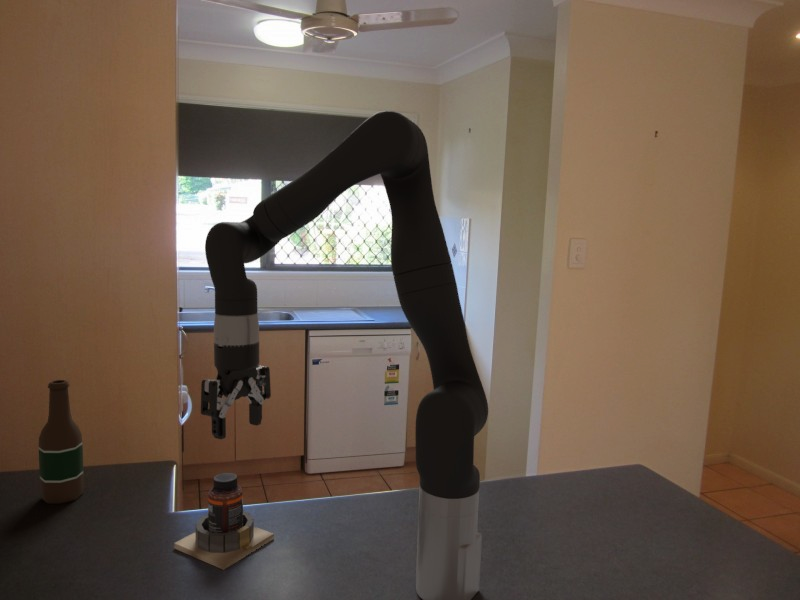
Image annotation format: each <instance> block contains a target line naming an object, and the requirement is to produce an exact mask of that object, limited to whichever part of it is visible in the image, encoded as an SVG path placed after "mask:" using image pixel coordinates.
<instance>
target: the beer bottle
mask: <svg viewBox="0 0 800 600" xmlns="http://www.w3.org/2000/svg"><path fill="white" fill-rule="evenodd" d="M69 387H70V383H69V381H68V380H64V379H56V380H53V381H50V382H48V385H47V388H48V389H49V394H48V395H49V396H48V400H49V401H48V415H47V416H48V417H47V422H46V423H45V425H44V426H43V428H42V429H41V432H40V434H39V437H38V464H39V465H38V466H39V467H38V468H39V470H38V472H39V490H40V491H39V492H40V498H41V499H42V500H43V502H44V503H46V504H48V505H49V504H51V505H53V504H54V505H55V504H56V505H57V504H58V505H59V504H65V503H69V502H72V501H75V500H77V499H78V498H79V497H81V495H83V493H84V491H85V490H84V488H85V487H84V486H85V480H84V478H85V477H84V453H83V451H84V446H83V437H82V436H83V435H82V432H81V428H79V425H78V424H76V422H75V421H74V419H73V418H72V413H71V407H70V406H71V405H70V398H69V397H70V396H69V389H68V388H69Z"/></svg>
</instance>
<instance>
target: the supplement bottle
mask: <svg viewBox="0 0 800 600" xmlns="http://www.w3.org/2000/svg"><path fill="white" fill-rule="evenodd" d="M243 492H244V491H243V488H242V487H241V486H240V485H239V484H238V476H237V474H236V473H233V472H222V473H219V474H217V475H215V476H214V477H213V486H212V487H211V488H210V489H209V491H208V494H207V514H208V531H209V532H212V533H228V532H232V531H236V530H238V529H240V528H242V527H243V511H244V493H243Z"/></svg>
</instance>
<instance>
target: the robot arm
mask: <svg viewBox="0 0 800 600" xmlns="http://www.w3.org/2000/svg"><path fill="white" fill-rule="evenodd" d="M426 139H427V138H426V136H425V135H424V133H423V131H422V129H421V128H420V127H419V126H418V124H416V123H415V122H414V121H412V120H410V118H408V117H407V116H405V115H403V114H402V113H401V112H397V111H394V110H381V111H378V112H375V113H374V114H372V115H370V116H369V117H368V118H366V119H365V120H364V121H363V122H362V123H361V124H360V125H358V126H357V127H356V128H355V129H354V130H353V131H352V132H351V133H350V134H349V135H348V136H346V137H345V138H344V140H342V141H341V142H340V143H339V144H338V145H337V146H336V147H335V148H334V149H332V150H331V151H330V152H329V153H328V154H326V155H325V156H324V157H323V158H321V160H319V161H317V163H315V164H314V165H313V166H312V167H310V168H308V170H307V171H305V172H303V173H302V174H301V175H299V176H297V178H295V179H293V180H292V181H290V182H289V183H287V184H285V185H284V186H283V187H281V188H280V189H278V190H277V191H274V192H273V193H272V194H270V195H268V196H267V197H266V198H264V199H262V200H261V201H259V202H258V203H257V204H256V205H255V207H254V209H253V213H252V215H251V216H250V217H248V218H247V219H245V220H243V221H241V222H240V221H239V222H238V221H237V222H235V221H233V222H232V221H222V222H219V223H216V224H214V225H213V226H212V227H211V228H210V229H209V231H208V232H207V236H206V238H205V243H204V244H205V245H204V248H205V249H204V250H205V257H206V258H205V259H206V263H207V266H208V271H209V275H210V278H211V279H210V280H211V282H212V284H213V287H214V321H213V359H214V360H213V362H214V363H213V364H214V368H216V369H215V370H216V371H217V374H216V378H214V379H206V378H203V379H202V380H201V385H200V387H201V388H200V389H201V391H200V394H201V395H200V415H202V416H207V417H210V418H211V435H212V436H213V438H214V439H218V440H223V439H226V437H227V435H226V434H227V432H226V429H227V428H226V427H227V426H226V421H227V420H226V417H225V415H226V413H227V411H228V409H229V407H231V406H232V405H233V403H234V401H237V400H239V399H240V398H242V397H243V398H246V399H247V400H248V401H249V402H250V403H249V404H248V422H249V424H250V425H253V426H257V427H258V426H260V425H261V424H262V420H263V404H264V402H265V400H266V399H267V400H269V399H270V398H271V396H272V395H271V393H272V392H271V372H270V371H271V370H270V367H269V366H266V365H265V366H264V365H260V322H259V316H258V315H259V313H258V287H257V283H256V282H255V281H254V280H253V279H249V278H248V277H247V273H246V266H245V264H250V263H252V262H254V261H257V260H258V259H260V258H262V257H263V256H265V255H266V254H267V253H268V252H270V251H271V250H272V249H273V248H275V246H277V245H278V244H279V243H280V242H281V241H282V240H283V239H285V238H287V237H289V236H290V235H292V234H293V233H295V232H297V231H298V230H300V229H301V228H303V227H305V226H307V225H308V224H310V223H311V222H313V221H314V220H315V219H316V218H317V217H319V216H320V215H321V214H322V213H323V212H324V211H325V210H326V209H327V208H329V206H330V205H331V204H332V203H333V202H334V201H336V199H337V198H338V197H340V196H341V195H342V194H344V192H346V191H348V190H349V189H350V188H352V187H353V186H355V185H357V184H359V183H361V182H363V181H366V180H368V179H370V178H373V177H374V176H377V175H380V177H381V179H382V183H383V186H384V188H385V192H386V197H387V199H388V203H389V208H390V215H391V238H390V263H391V271H392V276H393V281H394V286H395V289H396V294H397V299H398V301H399V305H400V308H401V311H402V312H403V314H404V316H405V318H406V320H407V322H408V323H409V325H410V326H411V328H412V330H413V332H414V333H415V335H416V336H417V338H418V340H419V341H420V343H421V345H422V347H423V349H424V351H425V353H426V357H427V360H428V364H429V368H430V375H431V380H432V387H433V389H432V390H431V391H429V392H427V394H425V395H424V396H423V398H422V399H421V401H420V402H419V404H418V406H417V410H416V416H415V432H414V433H415V467H416V470H417V472H418V475H419V488H418V489H419V491H418V511H417V512H418V513H417V515H418V516H417V538H416V539H417V541H416V545H417V546H416V547H417V548H416V571H415V572H416V573H415V592H416V594H417V595H418V597H419V598H420V599H422V600H472V599H473V598H474V597H475V596H476V594H477V593H478V592H479V590H480V577H481V575H480V574H481V561H482V560H481V558H482V557H481V556H482V541H483V540H482V538H483V537H482V536H483V535H482V533H481V532H479V531H478V518H479V516H478V515H479V500H480V499H479V498H480V497H479V496H480V482H481V480H480V479H481V478H480V477H481V476H480V474H481V473H480V470H479V469H478V467H477V466H476V465H474V458H475V457H474V454H475V453H474V450H475V449H474V448H475V447H474V446H475V436H476V435H477V434H479V433H480V432H481V430H482V429H483V428H484V427H485V425H486V424H487V421H488V417H489V403H488V399H487V395H486V392H485V389H484V386H483V383H482V380H481V377H480V374H479V372H478V369H477V366H476V364H475V363H476V362H475V361H474V360H475V359H474V358H473V354H472V353H473V352H472V351H471V347H470V343H469V338H468V334H467V329H466V324H465V319H464V318H465V317H464V314H463V309H462V305H461V301H460V297H459V295H460V294H459V290H458V285H457V281H456V276H455V272H454V267H453V262H452V259H451V254H450V251H449V248H448V244H447V240H446V237H445V232H444V228H443V226H442V222H441V218H440V216H439V213H438V209H437V206H436V202H435V196H434V189H433V182H432V174H431V167H430V166H431V165H430V157H429V156H430V155H429V150H428V144H427V140H426Z"/></svg>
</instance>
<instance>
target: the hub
mask: <svg viewBox="0 0 800 600" xmlns="http://www.w3.org/2000/svg"><path fill="white" fill-rule="evenodd" d="M254 523H255V519H254V517H253V516H252V515H251V513H248V512H247V511H244V510H243V527H242V528H240V529H238V530H236V531H232V532H228V533H212V532H209V531H208V513H207V514H205V515H203V516H201V517H200V518H199V519H198V521H196V524H195V531H194V532H193V533H191V534H189V535H187V536H185V537H183V538H181V539H179V540H178V541H175V542H174V543H173V545H174V546H173V548H174V549H175V550H177V551H179V552H180V553H181V552H182V553H183V554H186V555H189V556H190V557H193V558H196V559H197V560H199V561H202V562H203V563H204V562H205V563H207V564H209V565H212V566H214V567H216V568H218V569H221V570H223V571H224V570H226V569H227V568H229V567H231V566H232V565H234V564H235V563H237V562H239V561H241V560H242V559H243V558H244V559H245V557H247V556H248V554H249V553H250V554H252V553H254V552H255V551H257V550H258V549H260V548H262V547H263V546H265V545H266V544H269V543H270V542H272V541H273V540H274V539H275V535H274V534H275V533H273V532H270V531H267V530H265V529H263V528H259V527H257V526H255V525H254ZM269 541H270V542H269ZM264 544H265V545H264ZM261 546H262V547H261ZM256 549H257V550H256ZM251 552H252V553H251ZM250 554H249V555H250ZM246 555H247V556H246Z"/></svg>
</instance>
